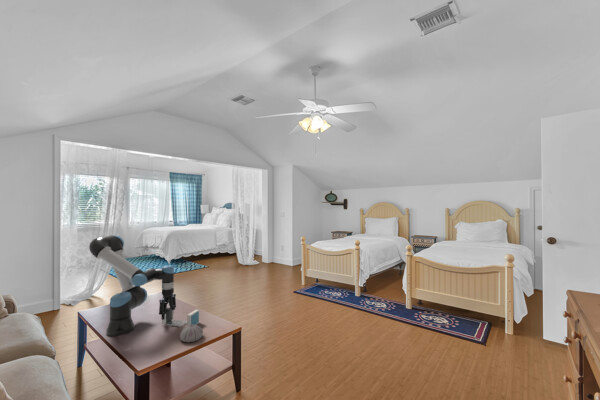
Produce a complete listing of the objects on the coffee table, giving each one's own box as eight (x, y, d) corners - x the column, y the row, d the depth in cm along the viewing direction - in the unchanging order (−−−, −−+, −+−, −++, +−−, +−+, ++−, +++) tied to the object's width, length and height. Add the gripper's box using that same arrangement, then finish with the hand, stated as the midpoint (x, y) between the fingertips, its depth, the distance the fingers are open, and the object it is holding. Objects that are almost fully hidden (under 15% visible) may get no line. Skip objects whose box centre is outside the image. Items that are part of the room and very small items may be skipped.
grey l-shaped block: (180, 326, 184) (180, 311, 185) (161, 324, 188) (161, 310, 188) (187, 322, 191) (187, 308, 192) (168, 320, 195) (168, 306, 195)
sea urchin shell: (195, 331, 177) (195, 319, 177) (207, 338, 168) (207, 324, 169) (175, 339, 167) (175, 326, 167) (186, 346, 158) (186, 332, 158)
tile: (190, 329, 181) (190, 315, 181) (187, 328, 182) (187, 314, 182) (199, 322, 191) (199, 309, 191) (195, 322, 191) (196, 309, 192)
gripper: (162, 292, 181) (162, 328, 180) (181, 284, 200) (181, 316, 200) (152, 292, 183) (152, 327, 182) (172, 284, 202) (172, 315, 201)
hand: (167, 321), depth 191 cm, fingers open, 7 cm apart
